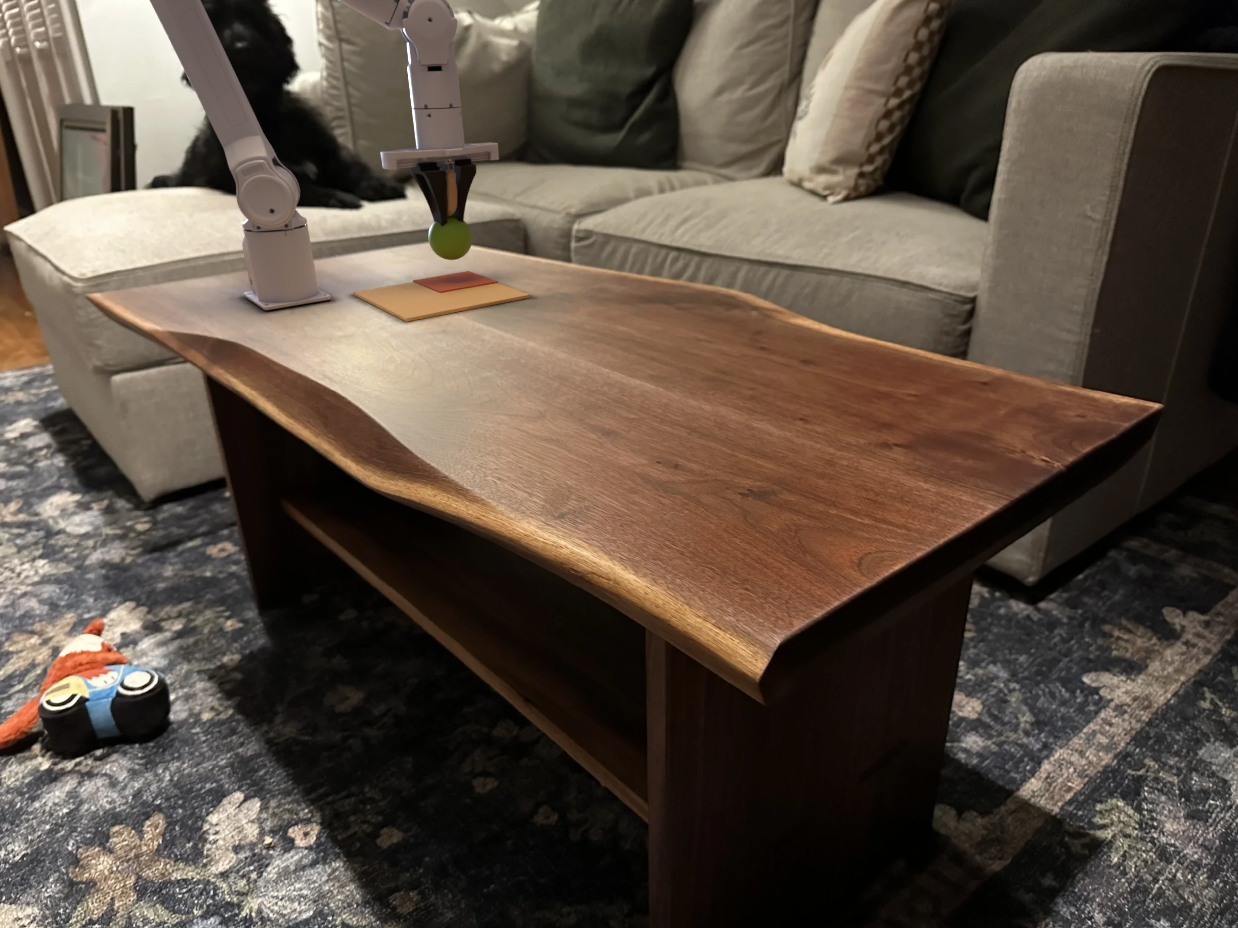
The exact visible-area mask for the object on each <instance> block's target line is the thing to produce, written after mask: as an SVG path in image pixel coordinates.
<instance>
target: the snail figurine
mask: <svg viewBox="0 0 1238 928" xmlns="http://www.w3.org/2000/svg"><path fill="white" fill-rule="evenodd" d="M450 159H451V160H450V161H449V160H445V163H446V164H447V165H448V164H449V163H452V164H453V163H454V162H455V161H454V159H452V158H450ZM446 164H445V165H446ZM445 204H446V212H447V224H445V225H444V226H441V225H440V223H438V222H434V221H433V222H432V224H431V225H430V227H429V230H428V236H427V237H428V244H429V246H430V249H431V250H432V251H433V253H435V255H437V257H439V258H441V259H443V260H447V261H454V260H460V259H461V258H463V257H465V256H466V255H467V254H468V252H469V251H470V249H471V247H472V245H473V233H472V230H471V228H470V226H469V224H468V223H467V222H466V221H465V220H464V221H463V222H461V221H458V219H457V218H456V217H455V216H452V215H453V213H454V212H455V211H456V208H457V185H456V173H455V171H454V165H453V170H452V169H449V166H448V170H447V171H446V179H445Z"/></svg>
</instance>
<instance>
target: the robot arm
mask: <svg viewBox="0 0 1238 928" xmlns="http://www.w3.org/2000/svg"><path fill="white" fill-rule="evenodd" d="M337 1H338V2H340V3H341V4H343V5H345V6H347V7H349V8H350V9H352V10H354V11H356V12H357V13H359V14H361V15H363V16H364V17H366V18H368V19H369V20H371V21H373V22H375V23H377V24H379V25H380V26H382V27H384V28H386V29H387V30H389V31H391V32H392V31H394V30H400V32H401V34H402V36H403V38H404V39H405V41H406V49H407V59H408V65H407V67H406V68H407V75H408V85H409V94H410V103H411V111H412V121H413V127H414V137H415V147H409V148H402V149H394V150H384V151H380V158H381V166H382V169H383V170H388V171H393V170H398V169H406V168H407V169H409V171H410V174H411V176H412V177H413V179H414V181H415V182H416V184H417V186H418V187H419V189H420V191H421V192H422V195H423V197H424V198H425V201H426V203H427V205H428V208H429V210H430V214H431V216H432V219H433V223H434V222H438V223H440V225H441V226H444V225H445V224H447V212H446V204H445V179H446V171H447V170H448V166H449V169H452V170H453V165H454V171H455V173H456V185H457V208H456V211H455V212H454V213H453V215H452V216H455V217H456V218H457V219H458V221H461V222H463V221H465V220H464V219H465V213H466V212H465V210H466V205H467V200H468V196H469V192H470V189H471V187H472V184H473V182H474V178H475V177H476V175H477V164H475V163H472V162H479V161H481V162H482V161H499V160H500V155H499V153H500V152H499V143H498V142H480V143H479V142H477V143H465V134H464V132H465V131H464V123H463V113H462V101H461V90H460V79H459V70H458V64H457V63H456V48H455V46H454V38H455V36H456V33H457V31H458V30H457V29H458V20H457V18H456V17H455V13H454V10H453V8H452V7H451V5H450V3H449V2H448V1H447V0H337ZM149 2H150V5H151V6H152V8H153V10H154V12H155V14H156V16H157V19H158V20H159V23H160V24H161V26H162V28H163V31H164V32H165V35H166V36H167V39H168V40H169V43H170V44H171V46H172V48H173V50H174V52H175V54H176V57H177V59H178V60H179V62H180V64H181V66H182V69H183V71H184V72H185V74H186V76H187V78H188V81H189V83H190V84H191V86H192V89H193V90H194V93H195V94H196V97H197V98H198V100H199V102H200V105H201V106H202V108H203V111H204V112H205V114H206V116H207V119H208V121H209V122H210V125H211V126H212V129H213V130H214V133H215V135H216V136H217V139H218V140H219V143H220V144H221V147H222V148H223V151H224V154H225V158H226V161H227V166H228V168H229V171H230V173H231V175H232V177H233V180H234V182H235V188H236V190H235V191H236V192H235V194H236V197H235V198H236V203H237V207H238V208H239V211H240V212H241V214H242V215H243V216H244V217H245V220H243V221H242V222H241V226H242V230H243V237H242V243H241V247H242V252H243V256H244V257H243V258H244V262H245V266H246V267H245V268H246V271H247V276H248V282H249V287H250V290H249V291H244V292H243V297H245V298H246V299H248V300H249V301H250V302H253V303H254V304H255V305H256V306H258V307H259V308H261V309H262V310H264V311H270V310H277V309H283V308H289V307H294V306H299V305H305V304H311V303H318V302H323V301H329V300H331V299H332V296H331V294H329V293H327V292H325V291H323V290H321V289H320V288H319V285H318V279H317V272H316V268H315V267H316V266H315V260H314V255H313V250H312V249H313V248H312V244H311V237H310V232H309V226H308V220H307V218H306V217H304V216H302V215H301V214H300V213H299V212H298V210H297V205H298V204H299V201H300V197H301V189H300V184H299V182H298V180H297V178H296V176H295V175H294V174H293V172H292V171H291V170H290V169H289V168H287V167H286V166H285V165H284V164H283V163H282V162H281V161H280V160H279V158H278V156H277V153H276V152H275V149H274V148H273V146H272V144H271V143H270V142H269V140H268V139H267V137H266V134H265V133H264V132H263V129H262V127H261V125H260V123H259V121H258V118H257V116H256V114H255V112H254V110H253V108H252V106H251V104H250V101H249V99H248V97H247V95H246V94H245V91H244V89H243V86H242V85H241V82H240V81H239V78H238V75H236V72H235V70H234V68H233V66H232V64H231V61H230V60H229V57H228V54H226V51H225V49H224V47H223V45H222V43H221V39H220V38H219V36H218V34H217V32H216V30H215V28H214V26H213V24H212V22H211V19H210V17H209V15H208V13H207V11H206V9H205V7H204V5H203V3H202V1H201V0H149ZM443 157H444V158H443ZM445 157H447V158H445ZM448 157H451V158H448ZM452 157H453V158H452ZM432 158H442V159H432ZM431 159H432V160H431ZM451 159H454V161H455V162H454V163H453V164H452V163H449V164H448V165H447V164H446V163H445V160H449V161H450V160H451ZM439 165H441V166H439Z"/></svg>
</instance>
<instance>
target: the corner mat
mask: <svg viewBox="0 0 1238 928" xmlns="http://www.w3.org/2000/svg"><path fill="white" fill-rule="evenodd" d="M352 294H353V296H355V297H357V298H359V299H360V300H363V301H364V302H366V303H369V304H370V305H373V306H374V307H376V308H378V309H380V310H382V311H384V312H386V313H388V314H390V315H392V316H394V317H396V318H397V319H400V320H402V321H404V322H413V321H417V320H422V319H427V318H433V317H438V316H443V315H449V314H454V313H458V312H463V311H470V310H473V309H479V308H485V307H489V306H495V305H500V304H506V303H510V302H515V301H521V300H526V299H530V298H531V294H530V293H527V292H524V291H521V290H519V289H516V288H512V287H510V286H507V285H505V284H502V283H499V282H498V281H497V280H495V279H492V278H490V277H487V276H484V275H481V274H478V273H476V272H472V271H469V270H466V271H459V272H454V273H449V274H448V273H447V274H442V275H436V276H430V277H424V278H419V279H413V280H412V281H409V282H404V283H398V284H393V285H387V286H386V285H385V286H380V287H374V288H369V289H363V290H357V291H353V292H352Z"/></svg>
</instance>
